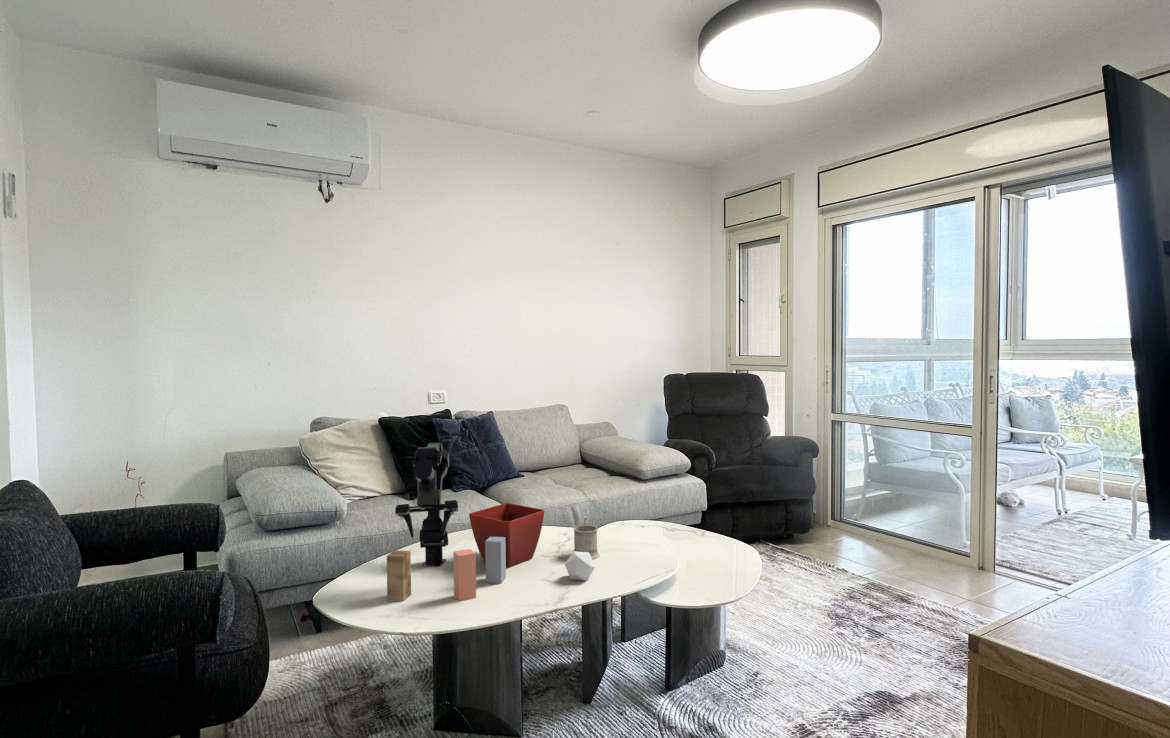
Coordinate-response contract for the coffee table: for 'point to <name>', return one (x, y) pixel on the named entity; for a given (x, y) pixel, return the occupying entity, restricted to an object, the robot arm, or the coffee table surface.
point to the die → (580, 565)
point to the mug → (586, 539)
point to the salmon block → (464, 574)
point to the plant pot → (509, 529)
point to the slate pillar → (495, 559)
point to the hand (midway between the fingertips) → (427, 536)
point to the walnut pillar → (398, 575)
